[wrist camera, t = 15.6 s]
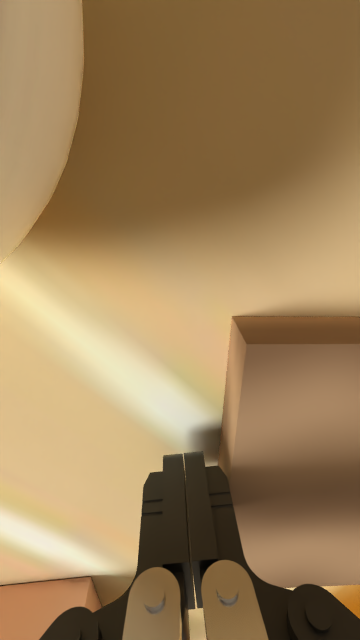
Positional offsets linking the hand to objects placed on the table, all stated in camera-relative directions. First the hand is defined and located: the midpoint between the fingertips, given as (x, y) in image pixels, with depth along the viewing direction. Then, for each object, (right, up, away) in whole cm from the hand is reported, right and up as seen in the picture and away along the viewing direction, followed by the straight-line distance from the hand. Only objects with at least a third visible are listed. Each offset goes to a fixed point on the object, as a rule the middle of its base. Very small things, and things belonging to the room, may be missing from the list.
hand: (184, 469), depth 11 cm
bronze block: (+5, 0, +2) cm, 6 cm away
